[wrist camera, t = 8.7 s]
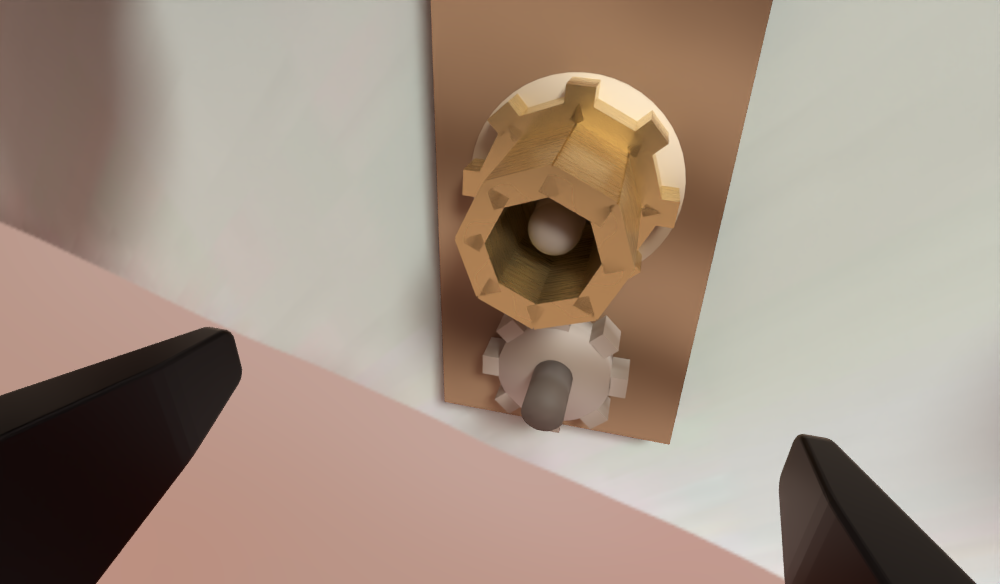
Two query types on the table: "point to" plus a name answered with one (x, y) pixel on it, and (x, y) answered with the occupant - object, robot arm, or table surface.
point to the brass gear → (574, 184)
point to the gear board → (557, 230)
